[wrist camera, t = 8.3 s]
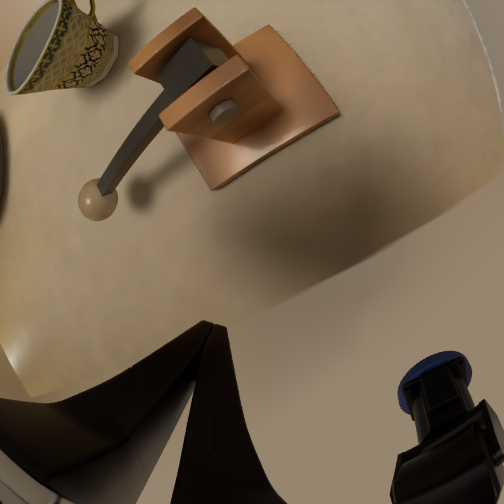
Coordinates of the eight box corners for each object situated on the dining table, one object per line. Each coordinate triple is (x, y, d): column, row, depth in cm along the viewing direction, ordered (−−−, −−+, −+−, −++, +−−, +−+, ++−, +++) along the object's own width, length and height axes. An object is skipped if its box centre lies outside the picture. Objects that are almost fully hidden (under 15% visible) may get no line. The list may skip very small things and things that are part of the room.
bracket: (217, 189, 21) (138, 208, 12) (165, 105, 20) (79, 84, 11) (339, 115, 17) (349, 66, 8) (272, 30, 16) (231, -43, 7)
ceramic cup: (99, 113, 22) (20, 108, 12) (62, 87, 22) (-2, 82, 13) (166, 7, 17) (100, -35, 7) (114, -2, 17) (57, -27, 8)
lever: (115, 220, 21) (84, 234, 18) (99, 188, 21) (67, 199, 18) (251, 82, 12) (212, 72, 9) (219, 42, 11) (178, 28, 9)
